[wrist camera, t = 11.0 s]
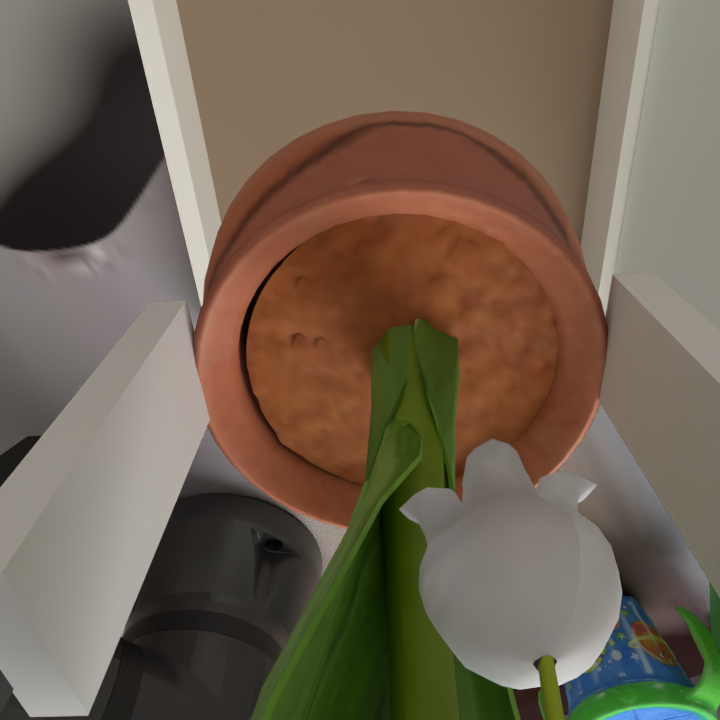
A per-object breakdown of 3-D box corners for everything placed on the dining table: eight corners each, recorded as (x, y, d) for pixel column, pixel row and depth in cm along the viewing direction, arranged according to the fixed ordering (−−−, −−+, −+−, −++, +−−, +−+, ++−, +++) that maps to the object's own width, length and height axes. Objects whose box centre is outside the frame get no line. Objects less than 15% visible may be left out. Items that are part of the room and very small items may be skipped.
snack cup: (562, 675, 54) (600, 801, 45) (490, 630, 50) (515, 756, 42) (710, 600, 48) (786, 728, 39) (639, 542, 44) (705, 668, 36)
